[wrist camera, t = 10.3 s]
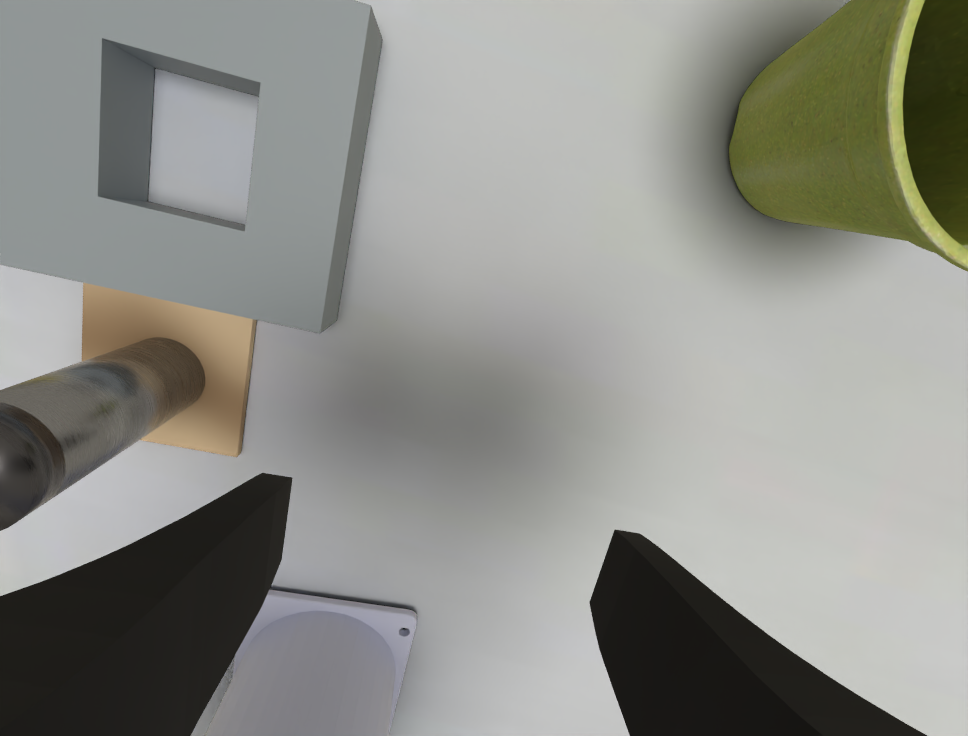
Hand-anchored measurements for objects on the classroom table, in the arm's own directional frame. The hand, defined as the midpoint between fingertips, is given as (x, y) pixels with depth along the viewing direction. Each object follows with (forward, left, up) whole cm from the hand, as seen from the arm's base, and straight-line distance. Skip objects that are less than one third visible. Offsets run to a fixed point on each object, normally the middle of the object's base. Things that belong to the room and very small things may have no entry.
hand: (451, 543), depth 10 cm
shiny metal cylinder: (-2, +11, -10) cm, 15 cm away
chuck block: (+12, +10, -10) cm, 19 cm away
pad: (-2, +11, -10) cm, 15 cm away
